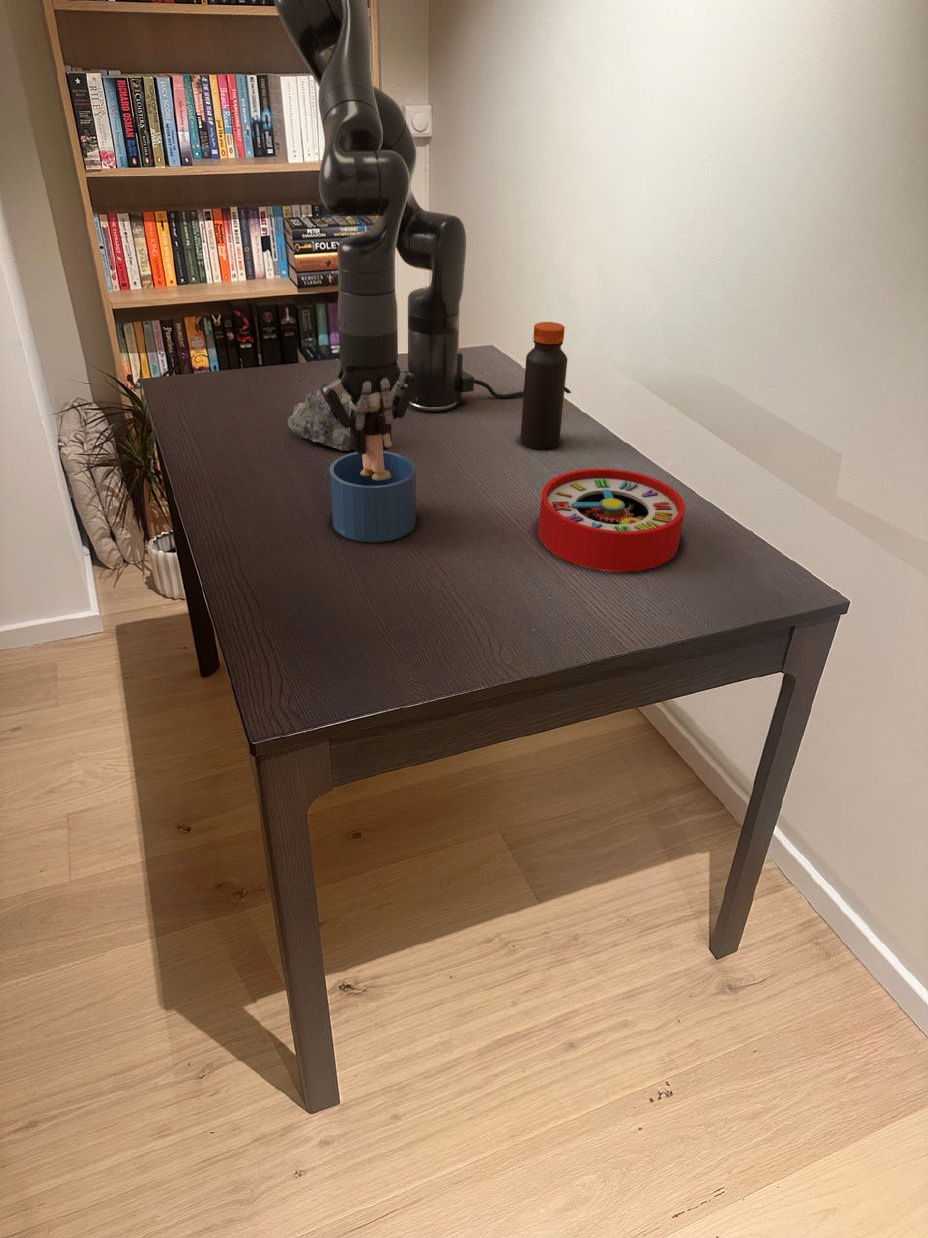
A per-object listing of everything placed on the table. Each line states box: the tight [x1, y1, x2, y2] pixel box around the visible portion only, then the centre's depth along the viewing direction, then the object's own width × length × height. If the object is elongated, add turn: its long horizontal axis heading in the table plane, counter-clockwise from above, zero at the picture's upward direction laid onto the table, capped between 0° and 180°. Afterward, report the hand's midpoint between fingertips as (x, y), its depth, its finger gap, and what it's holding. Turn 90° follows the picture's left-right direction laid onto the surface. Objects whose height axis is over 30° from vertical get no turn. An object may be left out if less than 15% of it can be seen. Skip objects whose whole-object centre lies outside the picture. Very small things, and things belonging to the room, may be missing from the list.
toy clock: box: [538, 468, 686, 573], centre depth 129 cm, size 20×6×20 cm
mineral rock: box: [287, 384, 354, 452], centre depth 153 cm, size 13×11×10 cm
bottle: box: [519, 321, 568, 450], centre depth 152 cm, size 7×7×20 cm
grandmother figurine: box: [349, 392, 393, 481], centre depth 124 cm, size 8×4×13 cm, turn 61°
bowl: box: [328, 450, 417, 543], centre depth 130 cm, size 12×12×8 cm
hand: (371, 449), depth 126 cm, fingers closed on grandmother figurine, 3 cm apart
